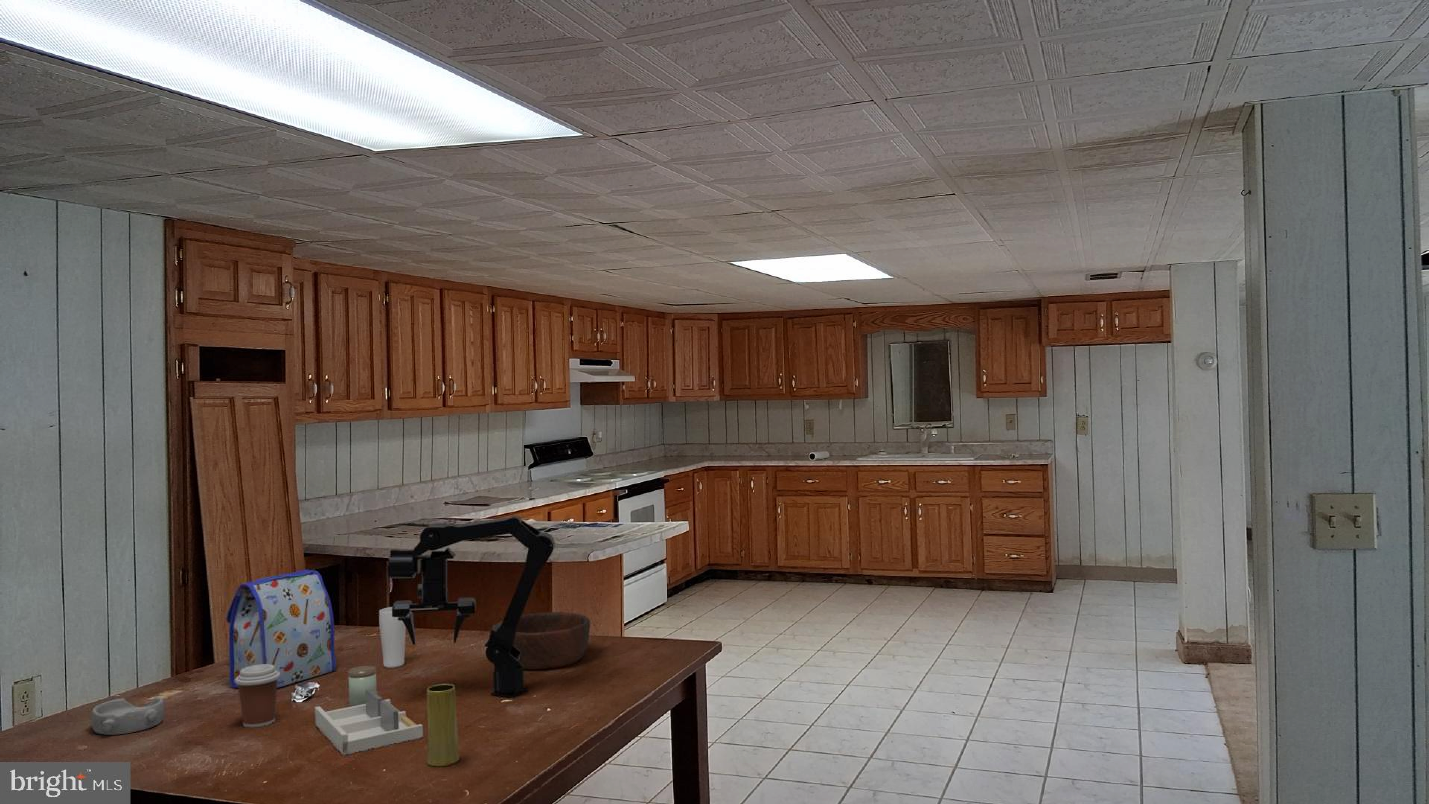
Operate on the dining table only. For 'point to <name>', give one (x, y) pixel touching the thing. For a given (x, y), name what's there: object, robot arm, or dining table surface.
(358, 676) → the sage jar
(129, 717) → the dish
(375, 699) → the plate
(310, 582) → the lunch bag
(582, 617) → the wooden bowl
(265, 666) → the coffee cup
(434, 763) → the vase
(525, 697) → the dining table surface
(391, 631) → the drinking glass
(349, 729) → the white divided tray
